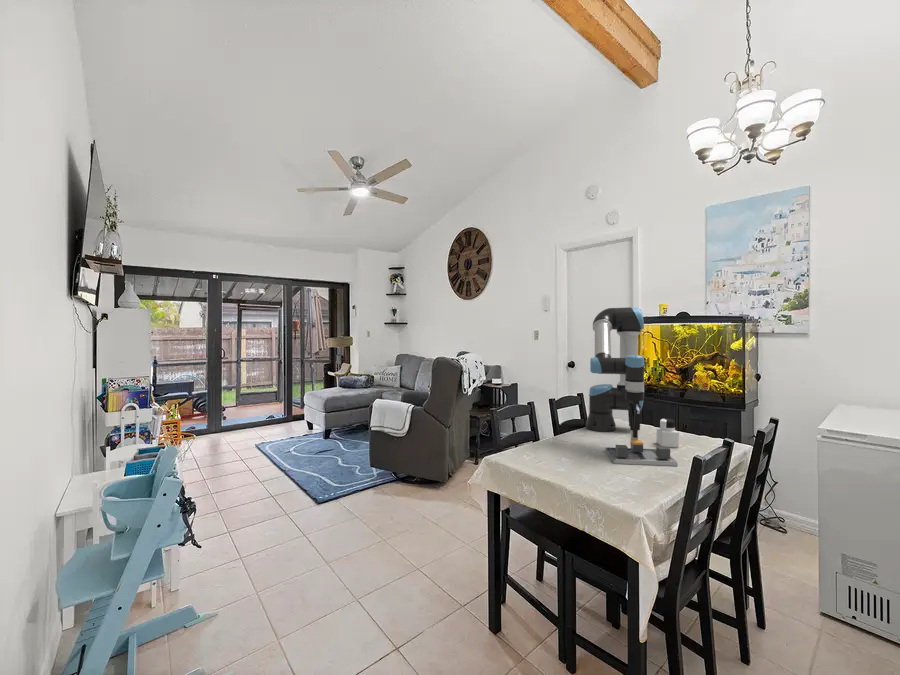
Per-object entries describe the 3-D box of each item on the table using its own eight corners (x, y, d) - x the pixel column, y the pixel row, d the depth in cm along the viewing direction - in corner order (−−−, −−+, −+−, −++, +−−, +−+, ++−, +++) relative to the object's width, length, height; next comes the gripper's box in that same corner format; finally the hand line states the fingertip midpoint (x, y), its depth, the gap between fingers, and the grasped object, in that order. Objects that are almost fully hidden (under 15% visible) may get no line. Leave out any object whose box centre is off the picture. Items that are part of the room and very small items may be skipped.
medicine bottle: (672, 442, 191) (672, 417, 191) (679, 447, 184) (679, 421, 184) (656, 442, 192) (656, 417, 191) (662, 447, 185) (662, 421, 184)
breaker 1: (615, 454, 171) (615, 444, 170) (625, 454, 170) (625, 445, 170) (617, 457, 167) (617, 447, 166) (628, 457, 166) (628, 448, 166)
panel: (605, 451, 181) (605, 447, 181) (662, 453, 177) (662, 449, 177) (613, 463, 165) (614, 459, 165) (677, 466, 161) (677, 461, 161)
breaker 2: (656, 455, 168) (656, 446, 168) (666, 455, 167) (666, 446, 167) (659, 458, 164) (659, 449, 164) (670, 459, 164) (670, 449, 163)
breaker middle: (630, 449, 177) (630, 440, 177) (640, 449, 176) (640, 440, 176) (633, 452, 173) (633, 442, 173) (643, 452, 172) (643, 443, 172)
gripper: (621, 388, 184) (621, 439, 185) (629, 393, 171) (629, 448, 172) (639, 388, 183) (638, 440, 184) (648, 393, 170) (648, 449, 171)
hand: (634, 444), depth 178 cm, fingers closed
